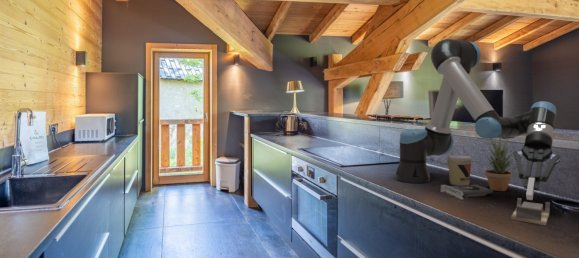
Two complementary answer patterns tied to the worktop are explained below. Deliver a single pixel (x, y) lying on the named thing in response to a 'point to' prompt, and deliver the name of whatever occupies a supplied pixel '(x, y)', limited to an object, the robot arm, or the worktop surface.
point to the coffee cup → (459, 169)
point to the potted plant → (499, 168)
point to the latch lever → (532, 205)
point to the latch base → (531, 214)
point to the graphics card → (465, 190)
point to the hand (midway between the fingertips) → (529, 197)
